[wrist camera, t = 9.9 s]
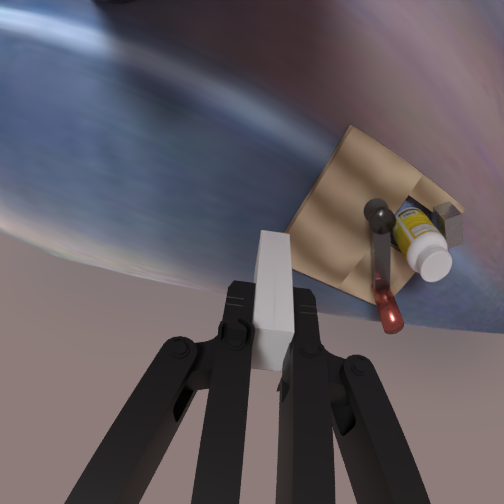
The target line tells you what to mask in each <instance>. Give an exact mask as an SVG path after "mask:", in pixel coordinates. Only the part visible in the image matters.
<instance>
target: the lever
mask: <svg viewBox="0 0 504 504" xmlns="http://www.w3.org/2000/svg"><path fill="white" fill-rule="evenodd" d="M395 224H396V217H395V215H394V213H393V212H392V211H391V210H390V209H389V208H387V207H379V208H377V209H375V210H374V211H373V212H372V213H371V214H369V225H370V235H371V254H372V284H371V291H372V294H373V297H374V300H375V303H376V306H377V309H378V312H379V315H380V319H381V322H382V325H383V328H384V331H385V333H387V334H395V333H397V332H399V331H400V330H402V328H403V327H404V322H403V319H402V316H401V314H400V311H399V308H398V306H397V303H396V301H395V298H394V295H393V293H392V290H391V288H390V267H391V241H390V231H391V230H392V229H393V228H394V226H395Z"/></svg>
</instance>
